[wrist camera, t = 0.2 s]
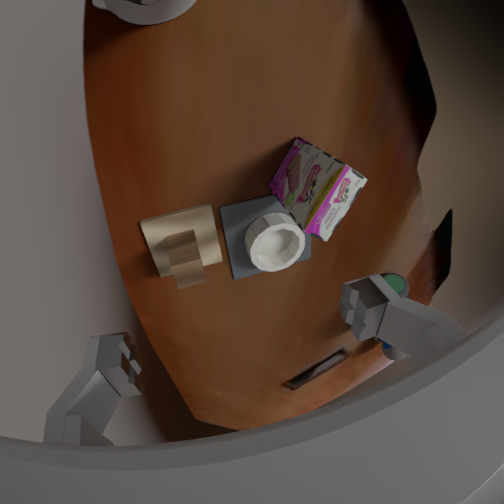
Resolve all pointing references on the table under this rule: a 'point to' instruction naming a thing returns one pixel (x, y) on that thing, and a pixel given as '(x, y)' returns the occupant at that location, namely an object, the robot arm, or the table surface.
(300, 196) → the candy bar box
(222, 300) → the table surface
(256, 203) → the mat
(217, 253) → the lid
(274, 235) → the bowl
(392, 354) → the webcam
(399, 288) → the headphones
